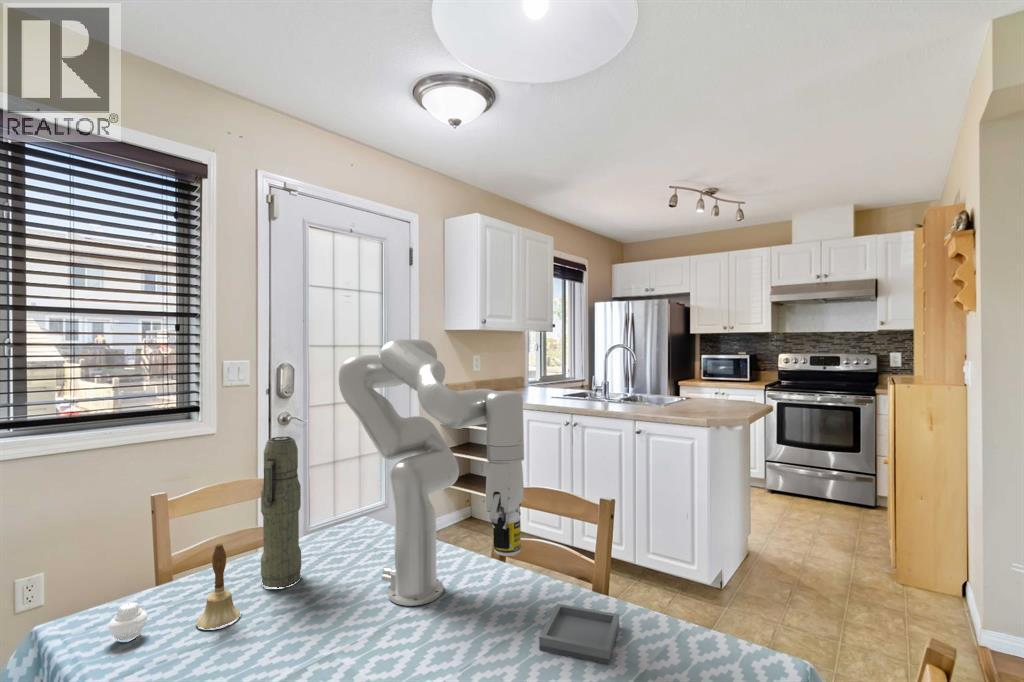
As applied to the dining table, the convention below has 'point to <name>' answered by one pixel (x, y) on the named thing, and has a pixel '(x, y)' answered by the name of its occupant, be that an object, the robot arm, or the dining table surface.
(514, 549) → the supplement bottle
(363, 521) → the dining table surface
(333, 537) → the dining table surface
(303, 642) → the dining table surface
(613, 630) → the tray
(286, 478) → the thermos
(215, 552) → the hand bell
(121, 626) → the white tiered dome
